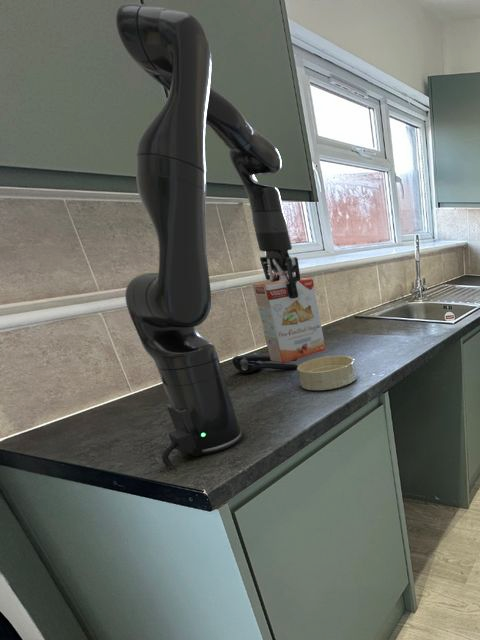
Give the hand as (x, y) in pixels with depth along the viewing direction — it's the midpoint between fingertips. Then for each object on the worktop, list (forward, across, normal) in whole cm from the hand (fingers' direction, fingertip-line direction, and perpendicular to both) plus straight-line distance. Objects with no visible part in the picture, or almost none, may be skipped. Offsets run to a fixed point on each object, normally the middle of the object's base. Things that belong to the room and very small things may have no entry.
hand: (286, 296), depth 112 cm
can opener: (+23, +14, +3) cm, 27 cm away
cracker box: (+17, 0, 0) cm, 17 cm away
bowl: (+23, -12, 0) cm, 26 cm away
